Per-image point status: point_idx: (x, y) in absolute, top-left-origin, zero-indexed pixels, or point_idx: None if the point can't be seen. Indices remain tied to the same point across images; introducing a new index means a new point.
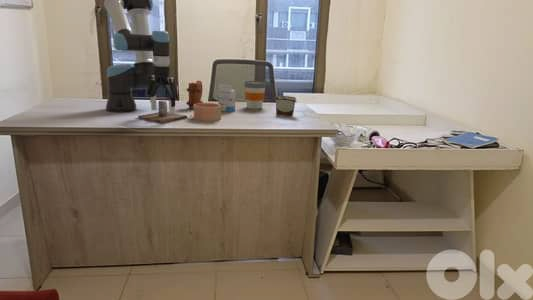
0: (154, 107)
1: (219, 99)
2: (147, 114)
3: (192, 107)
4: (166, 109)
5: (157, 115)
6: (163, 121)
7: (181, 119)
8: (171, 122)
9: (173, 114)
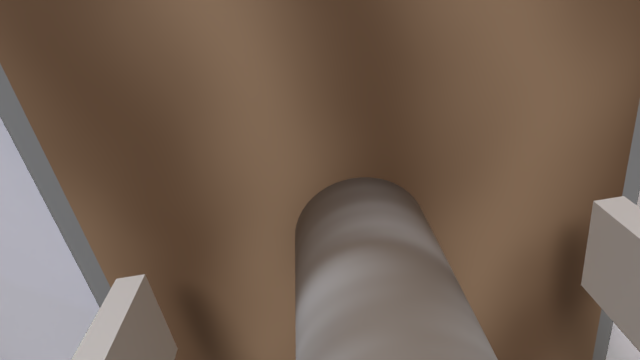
0: (147, 352)
1: None
2: None
3: None
4: (458, 284)
5: (287, 279)
6: (586, 353)
7: None
8: None
9: (381, 35)
